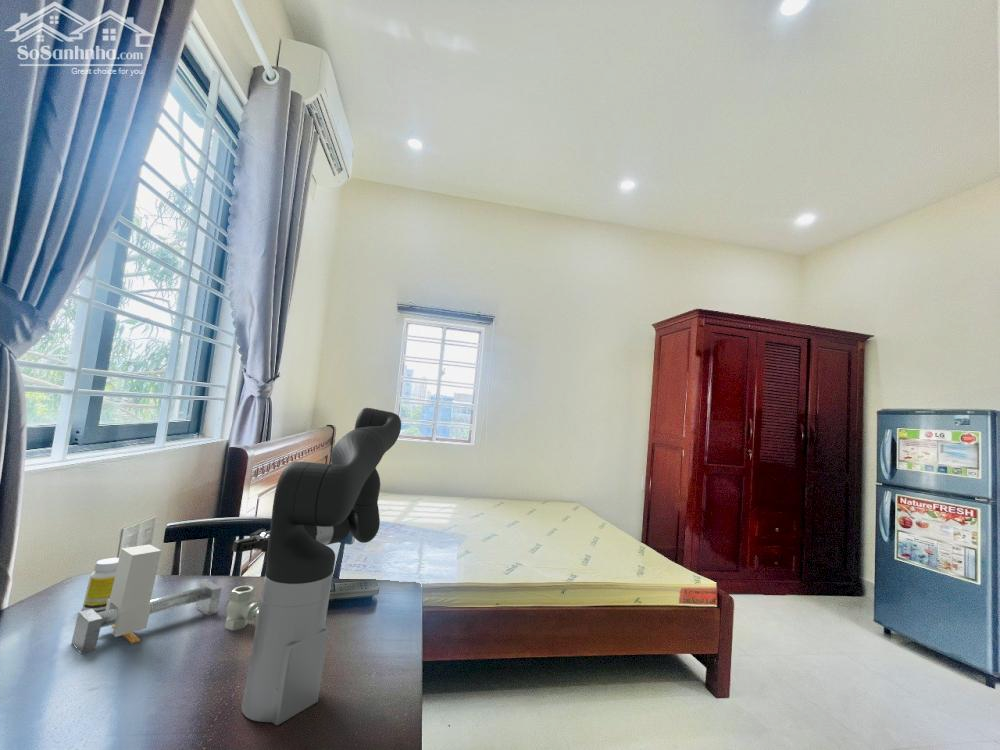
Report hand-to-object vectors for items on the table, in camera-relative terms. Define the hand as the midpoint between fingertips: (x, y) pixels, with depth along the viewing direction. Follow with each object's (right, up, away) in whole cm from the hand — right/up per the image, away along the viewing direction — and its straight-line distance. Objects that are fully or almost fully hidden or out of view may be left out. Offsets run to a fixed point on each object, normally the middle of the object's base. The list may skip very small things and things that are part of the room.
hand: (234, 546), depth 83 cm
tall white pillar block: (-9, -7, -15) cm, 19 cm away
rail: (-7, -9, -12) cm, 17 cm away
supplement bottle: (-22, -9, -7) cm, 24 cm away
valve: (+10, -12, -10) cm, 18 cm away
